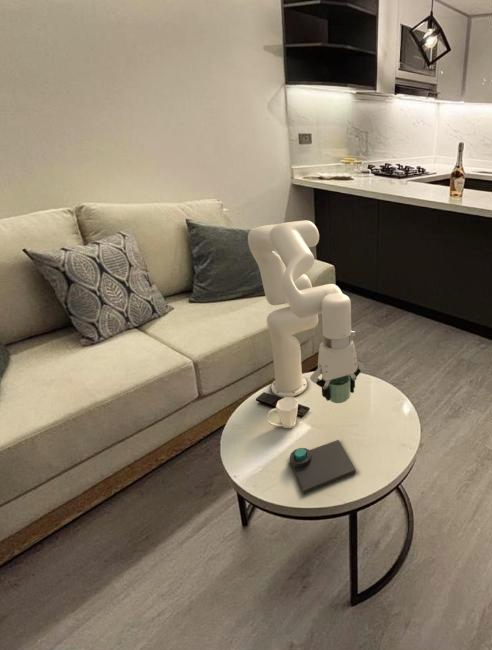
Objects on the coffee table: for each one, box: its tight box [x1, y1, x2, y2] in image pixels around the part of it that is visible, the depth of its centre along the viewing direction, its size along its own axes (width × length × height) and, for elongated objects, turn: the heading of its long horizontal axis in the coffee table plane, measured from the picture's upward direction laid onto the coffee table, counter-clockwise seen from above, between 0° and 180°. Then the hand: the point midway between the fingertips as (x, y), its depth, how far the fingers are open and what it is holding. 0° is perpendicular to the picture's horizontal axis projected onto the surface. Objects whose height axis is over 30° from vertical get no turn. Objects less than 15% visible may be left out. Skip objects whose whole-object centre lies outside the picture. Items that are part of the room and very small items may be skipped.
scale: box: [289, 439, 357, 495], centre depth 116 cm, size 14×16×3 cm
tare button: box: [295, 448, 306, 461], centre depth 116 cm, size 3×3×2 cm
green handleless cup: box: [328, 375, 352, 404], centre depth 115 cm, size 7×7×6 cm
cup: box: [266, 396, 299, 429], centre depth 130 cm, size 7×10×8 cm
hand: (338, 393), depth 116 cm, fingers closed on green handleless cup, 6 cm apart
